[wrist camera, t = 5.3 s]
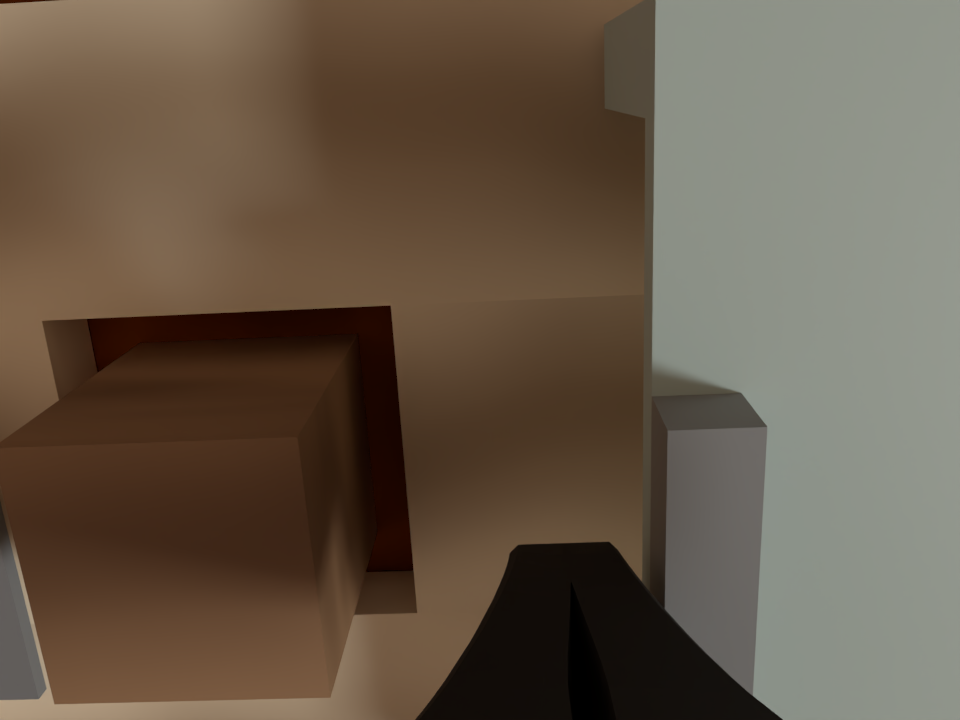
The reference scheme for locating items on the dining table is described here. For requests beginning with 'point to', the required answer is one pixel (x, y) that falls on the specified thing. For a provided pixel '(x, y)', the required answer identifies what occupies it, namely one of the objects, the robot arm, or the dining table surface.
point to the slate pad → (16, 632)
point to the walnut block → (197, 521)
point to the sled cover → (803, 342)
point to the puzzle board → (350, 263)
